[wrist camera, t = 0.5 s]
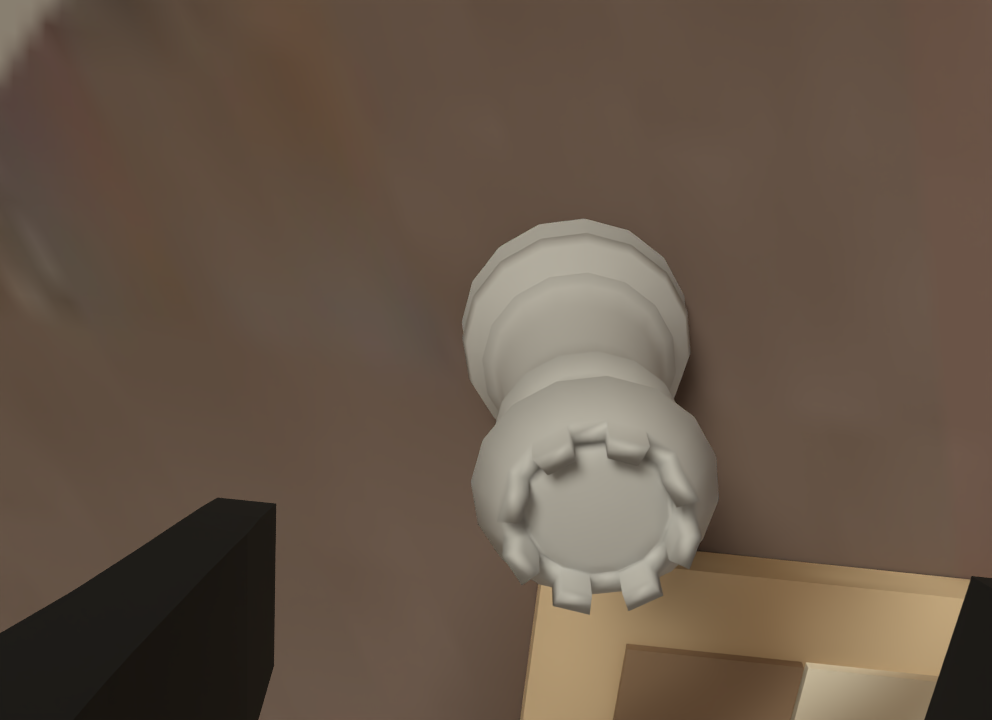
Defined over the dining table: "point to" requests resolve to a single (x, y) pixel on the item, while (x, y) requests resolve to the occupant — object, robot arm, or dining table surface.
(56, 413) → the dining table surface
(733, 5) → the dining table surface
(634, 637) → the chessboard
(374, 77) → the dining table surface
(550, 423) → the rook chess piece
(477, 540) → the dining table surface
